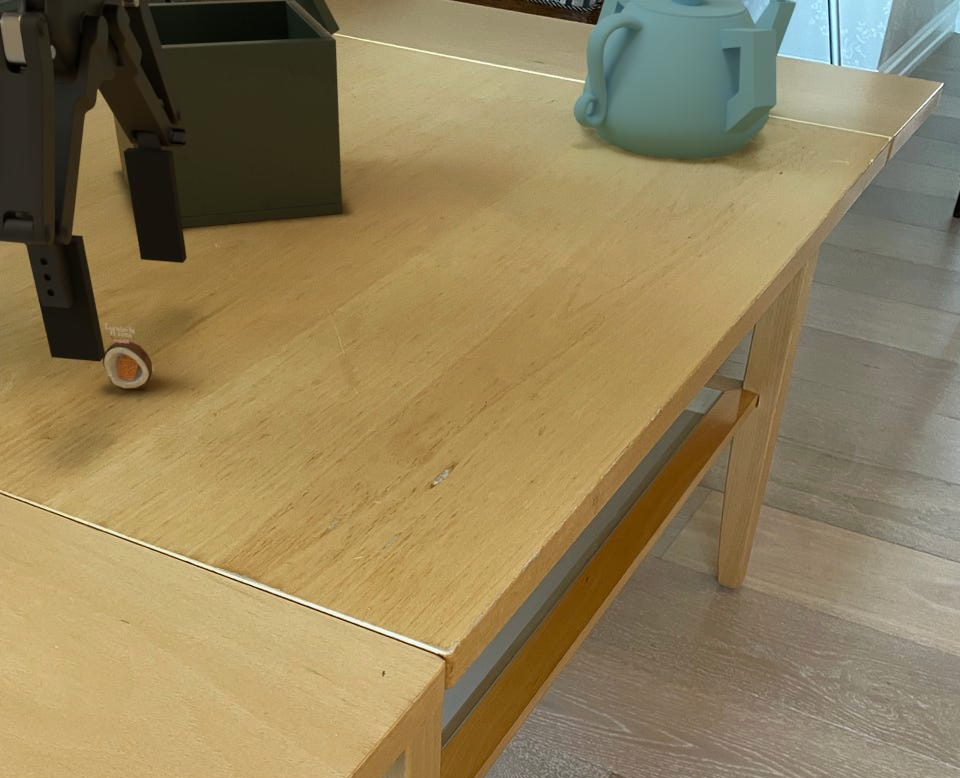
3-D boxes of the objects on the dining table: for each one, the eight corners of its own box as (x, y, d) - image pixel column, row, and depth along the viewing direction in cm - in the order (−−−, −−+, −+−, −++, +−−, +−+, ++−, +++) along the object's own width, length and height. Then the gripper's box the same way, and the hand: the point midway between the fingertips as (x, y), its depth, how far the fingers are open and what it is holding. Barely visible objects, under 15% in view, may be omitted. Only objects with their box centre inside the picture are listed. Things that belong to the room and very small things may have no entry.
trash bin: (146, 231, 89) (119, 49, 80) (122, 173, 98) (96, 5, 90) (342, 213, 93) (336, 39, 85) (301, 158, 103) (292, -2, 94)
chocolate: (165, 378, 71) (156, 317, 68) (150, 395, 69) (140, 333, 67) (119, 372, 71) (109, 311, 69) (104, 389, 70) (92, 327, 67)
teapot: (752, 177, 104) (784, 5, 95) (547, 149, 108) (559, -18, 99) (774, 119, 118) (803, -35, 109) (591, 96, 122) (605, -54, 113)
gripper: (7, -86, 44) (106, 414, 57) (209, -158, 62) (247, 230, 76) (-181, -98, 44) (-38, 400, 58) (76, -166, 63) (138, 221, 77)
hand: (124, 304), depth 67 cm, fingers open, 13 cm apart
